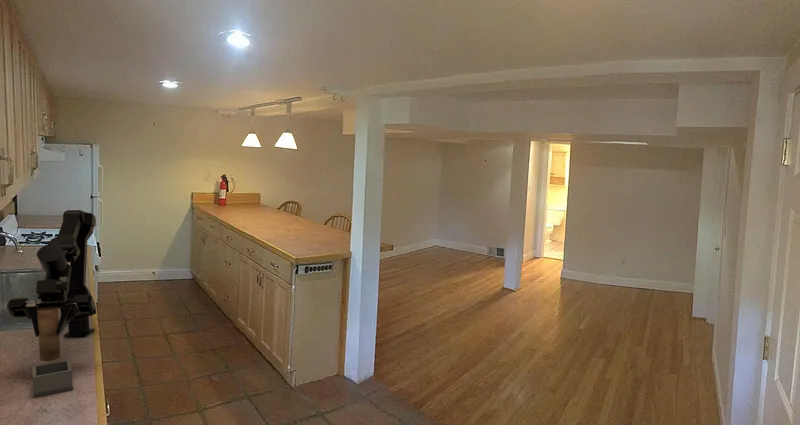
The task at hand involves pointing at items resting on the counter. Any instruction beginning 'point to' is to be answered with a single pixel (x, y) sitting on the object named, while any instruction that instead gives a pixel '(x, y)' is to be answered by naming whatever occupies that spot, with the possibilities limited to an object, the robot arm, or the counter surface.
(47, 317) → the walnut peg
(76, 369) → the counter surface
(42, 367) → the socket cup
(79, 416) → the counter surface
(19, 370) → the counter surface
